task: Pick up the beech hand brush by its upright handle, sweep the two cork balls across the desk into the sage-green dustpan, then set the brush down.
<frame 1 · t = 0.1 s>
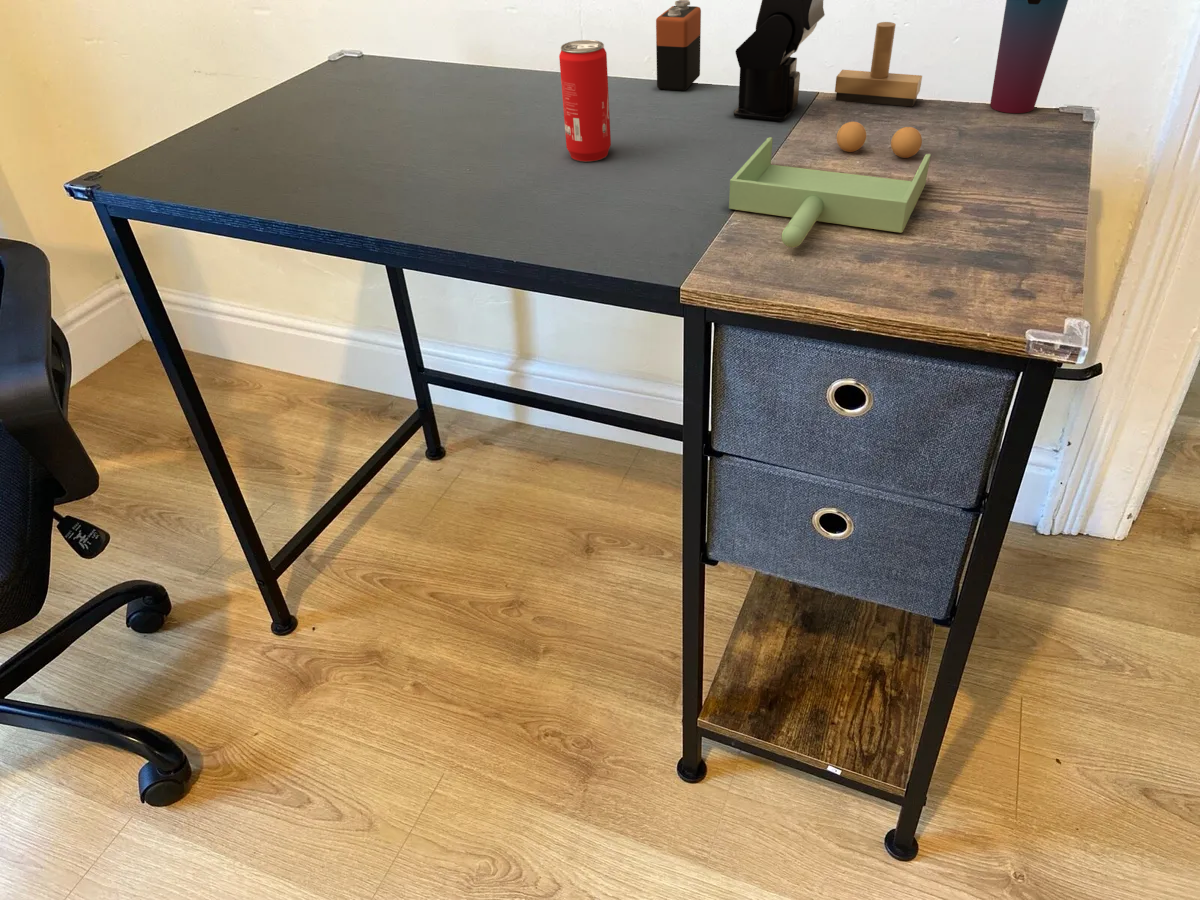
battery: (678, 84, 122), on the table
brush: (875, 100, 112), on the table
cork ball 1: (851, 136, 98), point 2 cm above the table
dustpan: (828, 196, 90), on the table
cup: (1011, 108, 107), on the table
cork ball 2: (906, 142, 96), point 2 cm above the table
beverage can: (589, 156, 103), on the table
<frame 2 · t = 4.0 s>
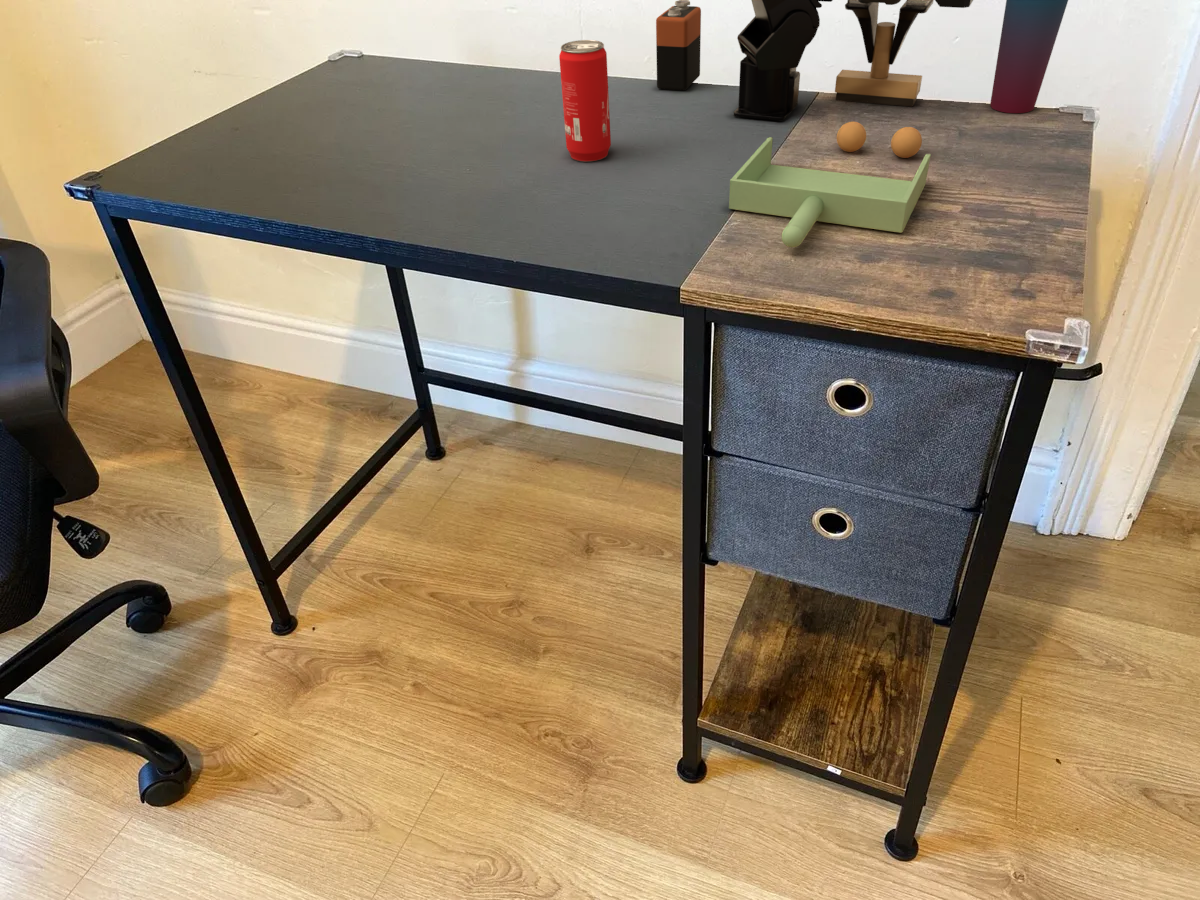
hand: (880, 63, 109), 5 cm above the table, tool pointing down, fingers closed on brush, 2 cm apart
brush: (875, 100, 112), on the table, touching gripper
everything else where it was.
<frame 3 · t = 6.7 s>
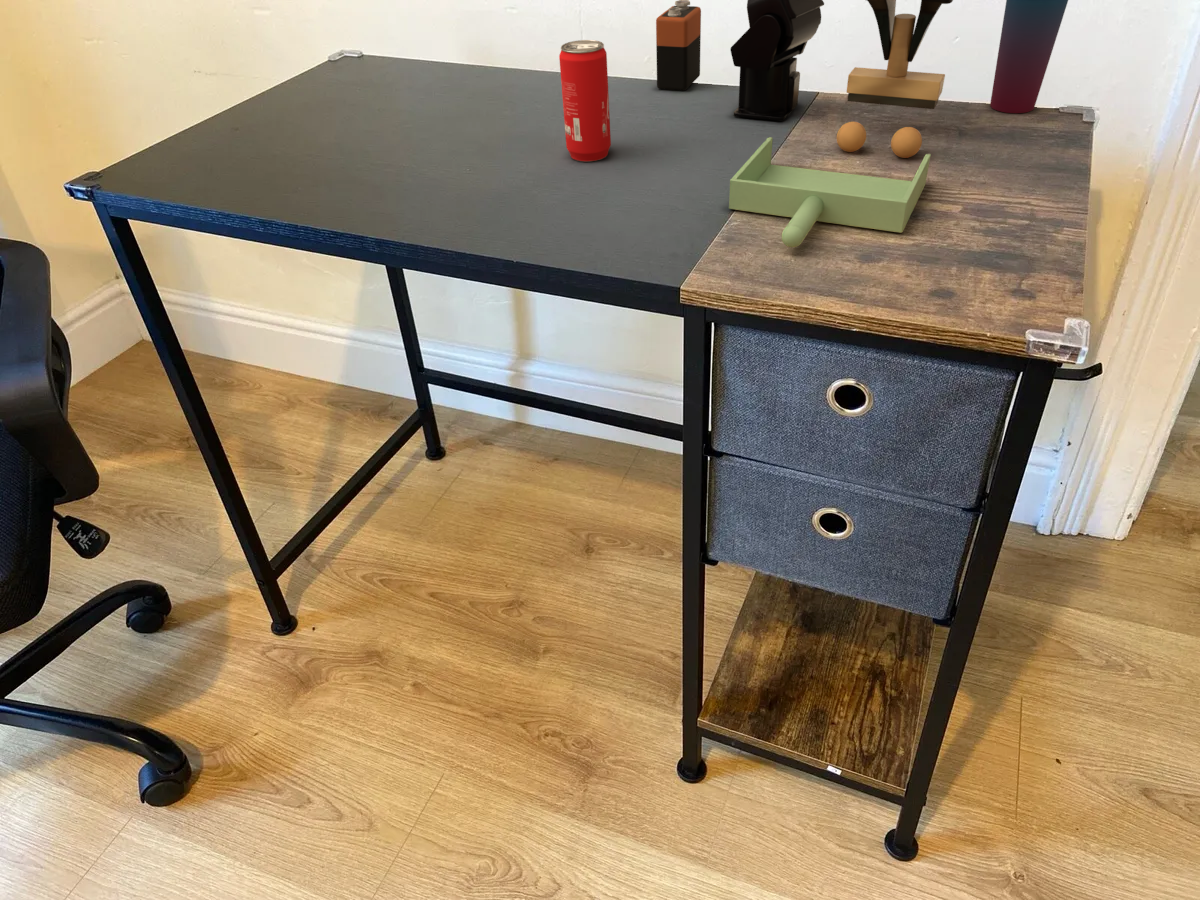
hand: (898, 60, 97), 8 cm above the table, tool pointing down, fingers closed on brush, 2 cm apart
brush: (892, 101, 100), point 4 cm above the table, touching gripper
everything else where it was.
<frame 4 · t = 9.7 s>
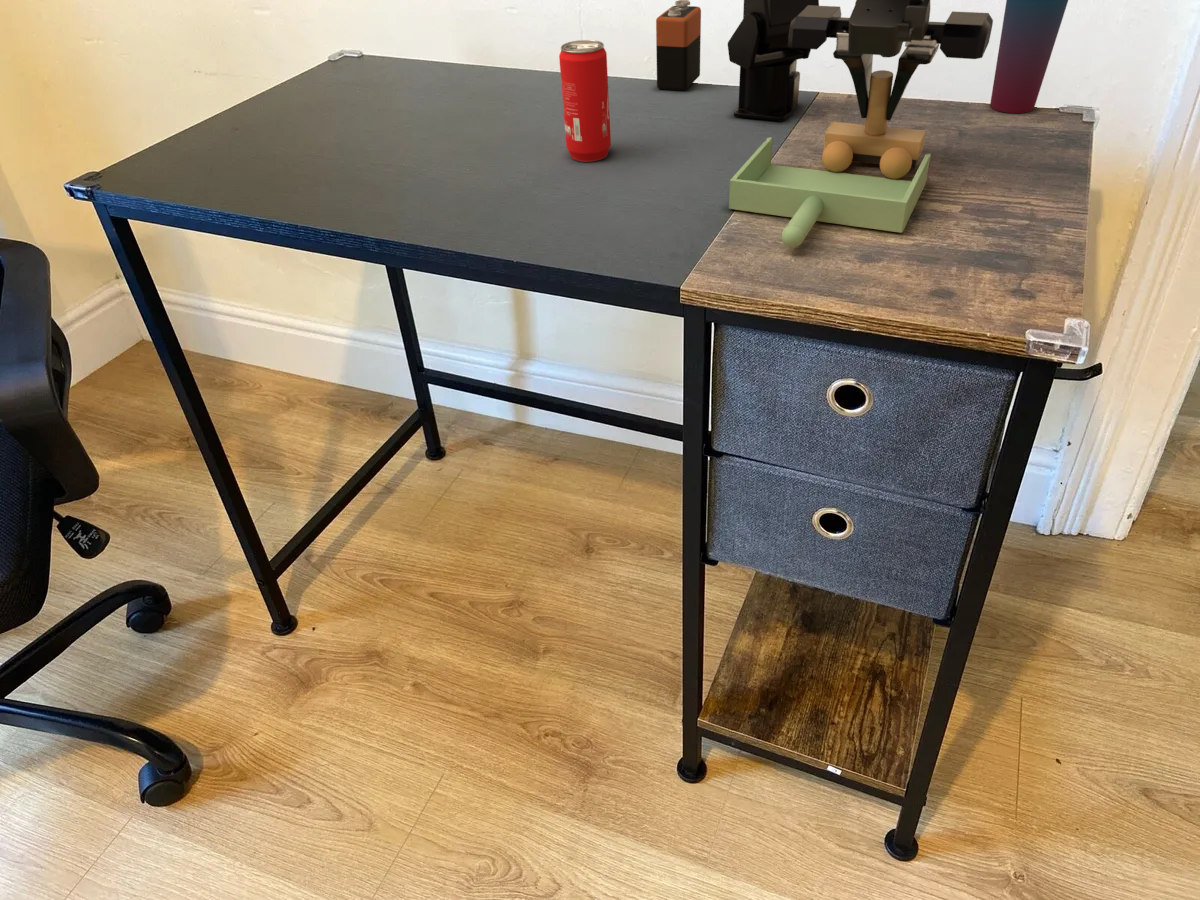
hand: (876, 118, 92), 5 cm above the table, tool pointing down, fingers closed on brush, 2 cm apart
brush: (871, 158, 95), point 1 cm above the table, touching cork ball 1, cork ball 2, gripper
cork ball 1: (837, 156, 94), point 2 cm above the table, tilted 139°, touching brush, dustpan
cork ball 2: (895, 163, 92), point 2 cm above the table, tilted 138°, touching brush, dustpan
everything else where it was.
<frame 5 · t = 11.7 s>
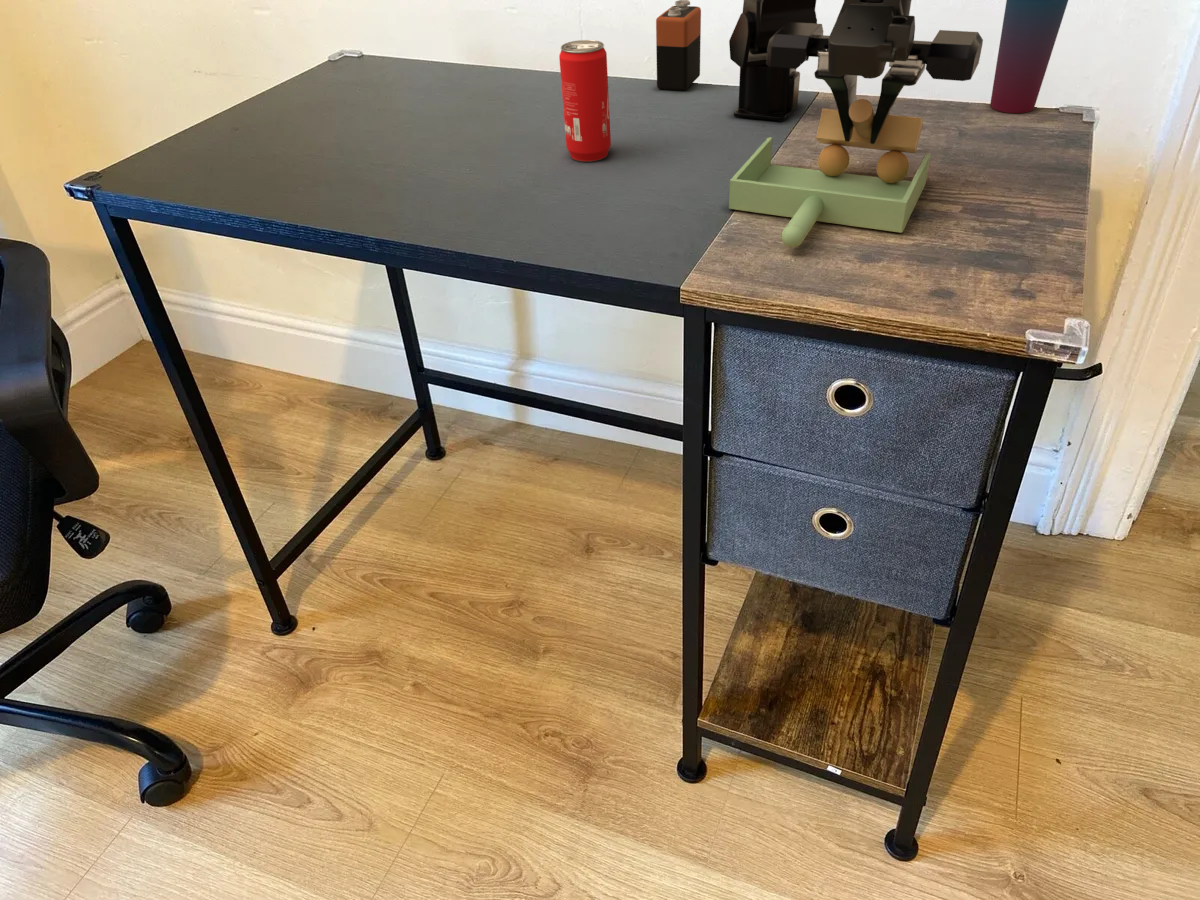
hand: (860, 141, 87), 5 cm above the table, tool pointing down, fingers closed on brush, 2 cm apart
brush: (870, 135, 92), point 4 cm above the table, tilted 56°, touching cork ball 1, cork ball 2, gripper
cork ball 1: (833, 160, 93), point 2 cm above the table, tilted 77°, touching brush, dustpan
cork ball 2: (892, 167, 90), point 2 cm above the table, tilted 77°, touching brush, dustpan
everything else where it was.
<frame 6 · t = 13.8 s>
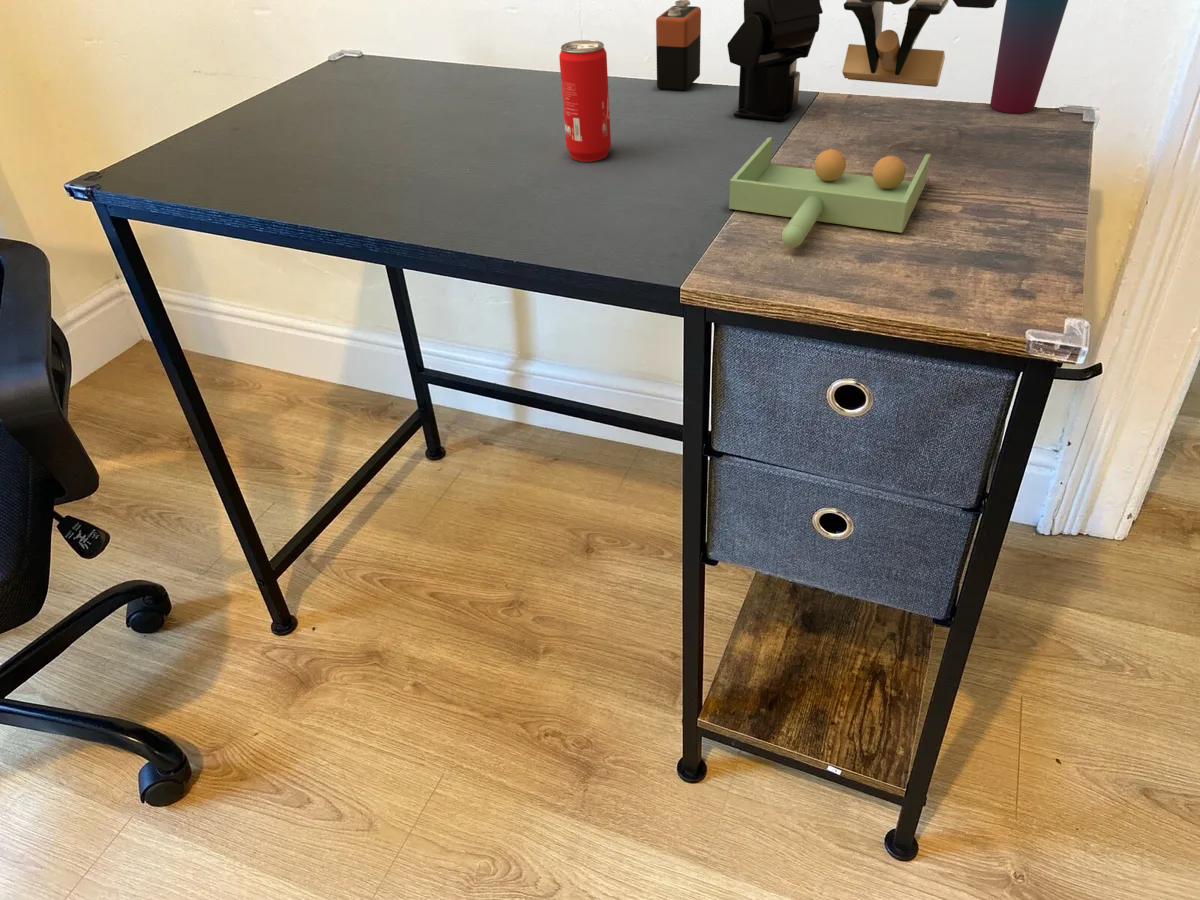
hand: (885, 73, 92), 9 cm above the table, tool pointing down, fingers closed on brush, 2 cm apart
brush: (894, 71, 96), point 8 cm above the table, tilted 56°, touching gripper
cork ball 1: (830, 165, 92), point 2 cm above the table, tilted 26°, touching dustpan
cork ball 2: (888, 172, 89), point 2 cm above the table, tilted 21°, touching dustpan
everything else where it was.
when the fingers open (2 cm above the table, at t = 15.8 s): brush stays where it is and tips over, point 2 cm above the table.
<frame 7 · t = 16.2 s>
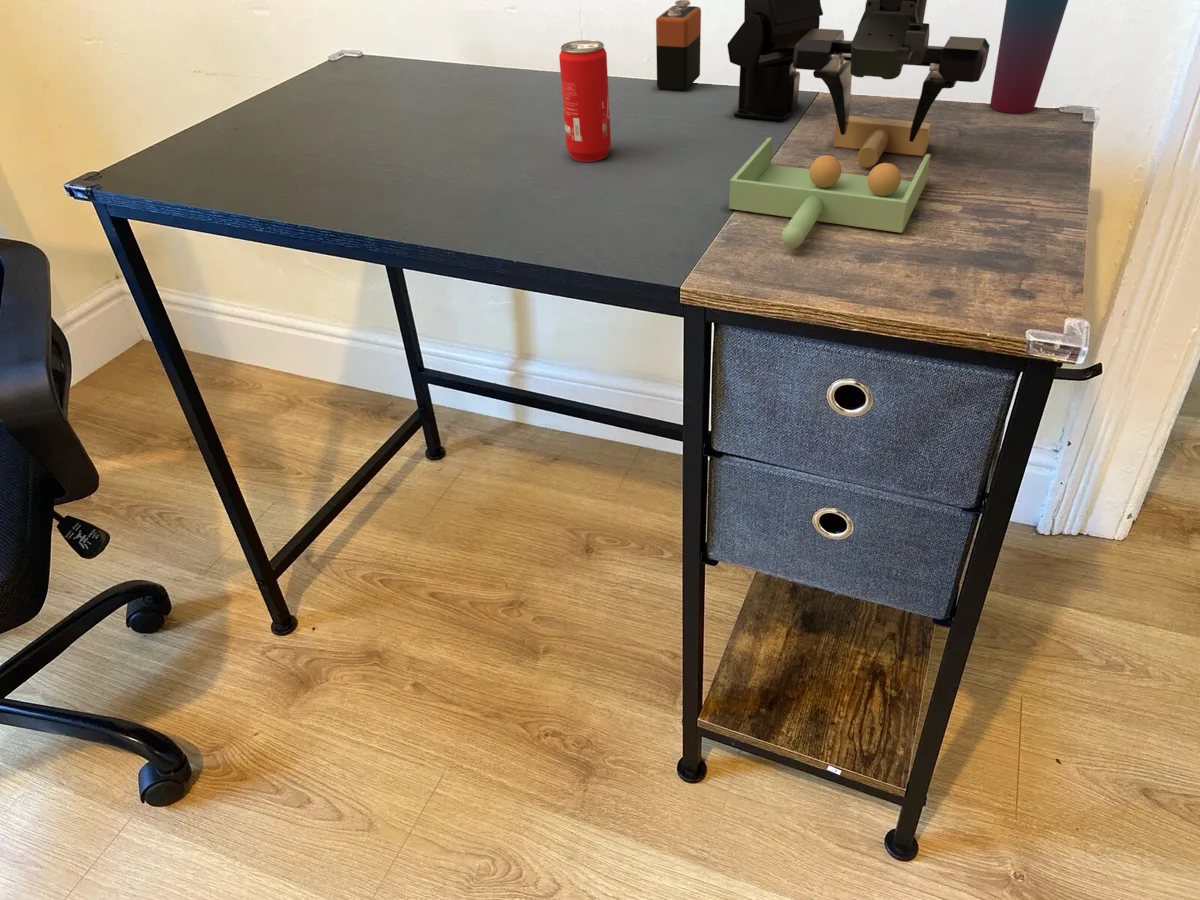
hand: (877, 137, 96), 2 cm above the table, tool pointing down, fingers open, 7 cm apart
brush: (885, 129, 100), point 2 cm above the table, tilted 90°
cork ball 1: (825, 171, 90), point 2 cm above the table, tilted 38°, touching dustpan
cork ball 2: (884, 179, 88), point 2 cm above the table, tilted 49°, touching dustpan
everything else where it was.
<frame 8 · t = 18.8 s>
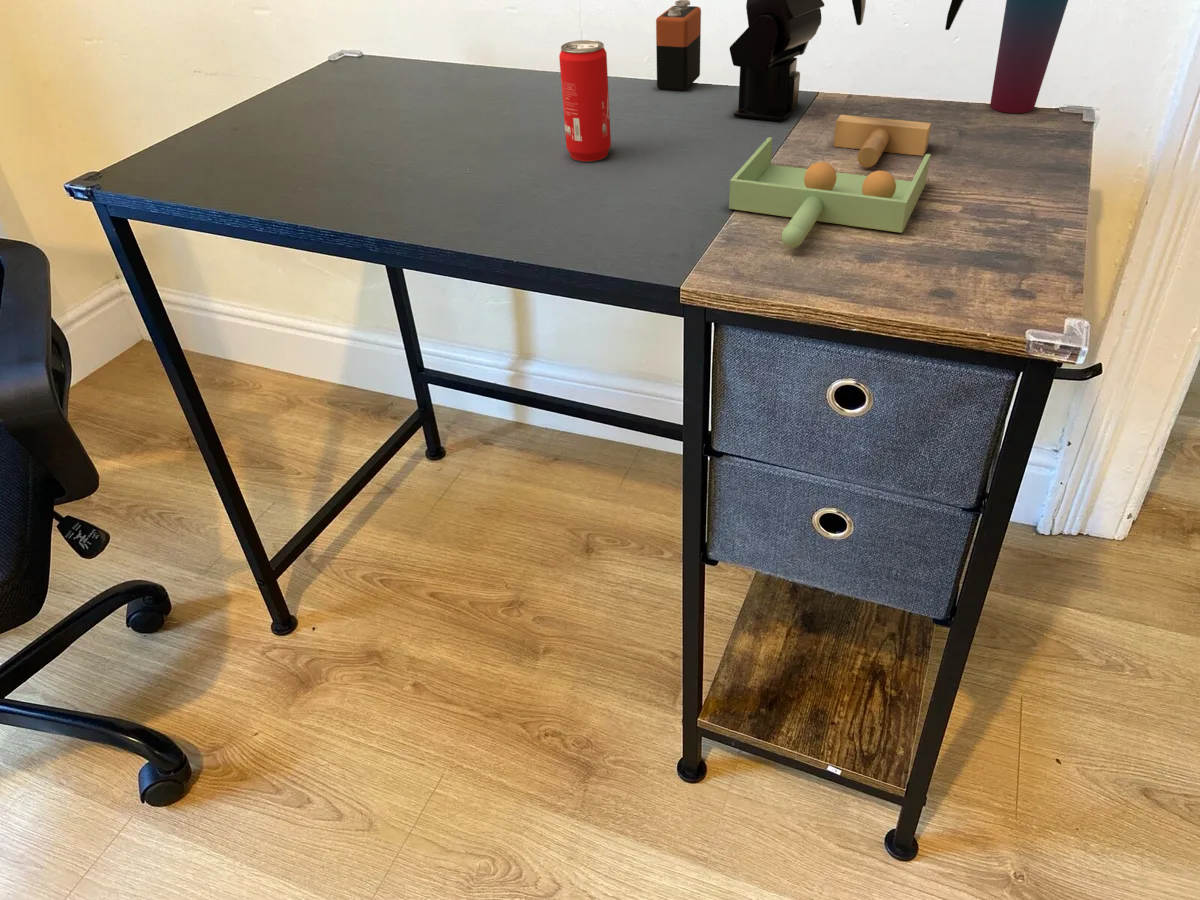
hand: (902, 26, 94), 12 cm above the table, tool pointing down, fingers open, 9 cm apart
cork ball 1: (820, 178, 89), point 2 cm above the table, tilted 108°, touching dustpan
cork ball 2: (878, 187, 86), point 2 cm above the table, tilted 125°, touching dustpan
everything else where it was.
at the end: cork ball 1 inside the target area in the dustpan (1.1 cm from its centre), point 1.8 cm above the dustpan's base; cork ball 2 inside the target area in the dustpan (4.9 cm from its centre), point 1.8 cm above the dustpan's base; the gripper is holding nothing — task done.
